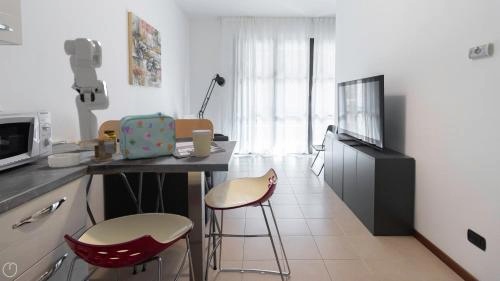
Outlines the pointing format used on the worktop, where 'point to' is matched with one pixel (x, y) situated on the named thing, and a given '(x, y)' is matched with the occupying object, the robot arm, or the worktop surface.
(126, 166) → the worktop surface
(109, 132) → the condiment
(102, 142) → the stand
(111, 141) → the lever
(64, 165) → the bowl
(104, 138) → the ball
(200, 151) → the coffee cup
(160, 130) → the lunch box
